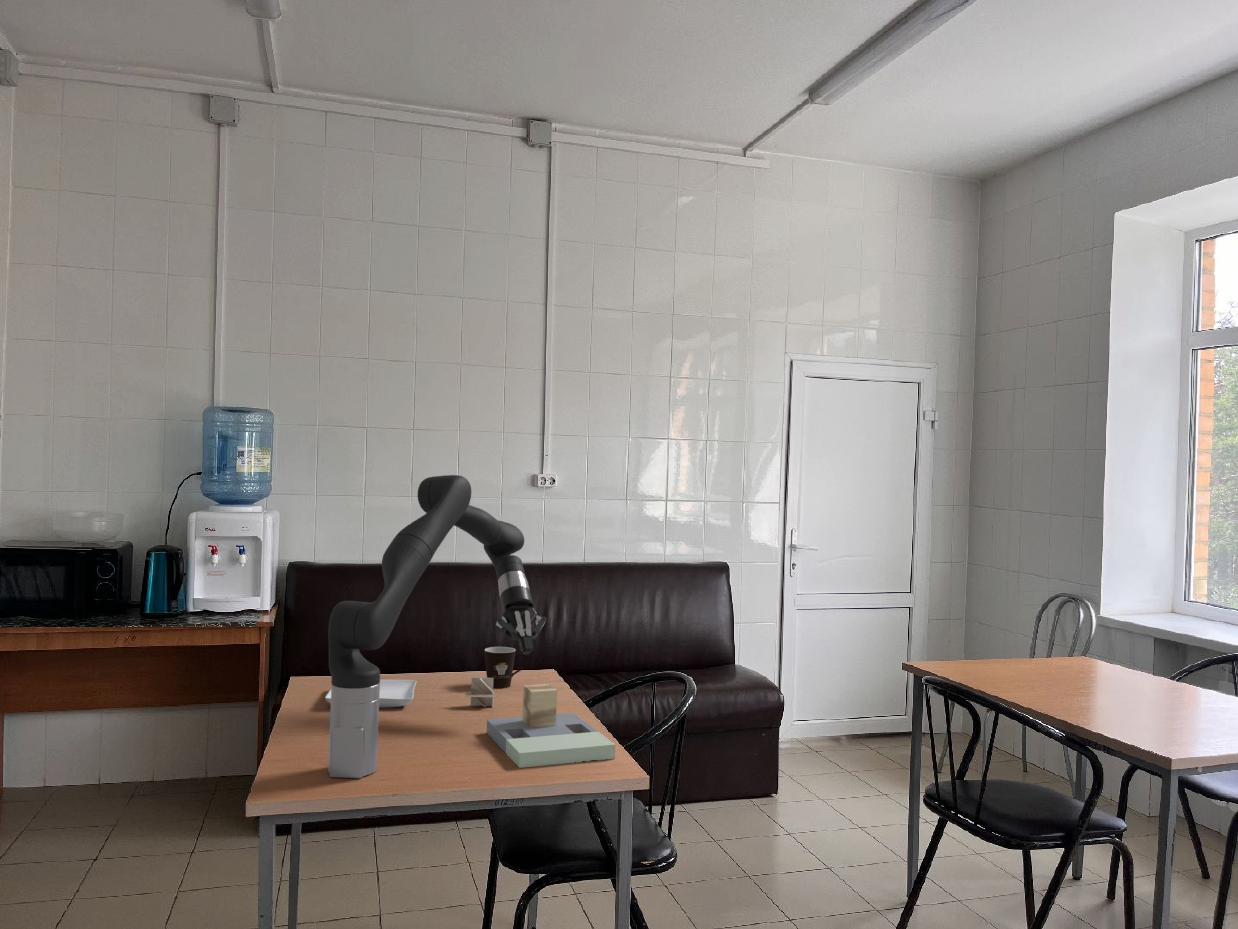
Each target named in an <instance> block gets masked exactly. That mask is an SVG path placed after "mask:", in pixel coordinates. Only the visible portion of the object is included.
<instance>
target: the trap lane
mask: <svg viewBox="0 0 1238 929" xmlns="http://www.w3.org/2000/svg"><path fill="white" fill-rule="evenodd" d="M522 720H523V716H518V717H517V716H516V717H504V718H491V719H486V734H487V735H488V736H489V737H490V738H491V740H493V742H495V743H496V745H498V746H499V748H500V749H501V750H502V751H503V752H504V753H505V754H506V755H507V757H508V758H509V759H511V762H512V761H513V763H514V764H515V765H516V766H517V767H518V768H519V769H523V768H524V769H525V768H531V767H542V766H543V767H544V766H553V765H555V766H556V765H565V764H574V763H575V762H576V763H583V762H582V761H586V762H591V761H590V760H597V761H604V760H606V759H607V760H615V759H616V744H615V743H614V742H613V741H612V740H610V739H609V738H607V737H606V736H605V735H603V734H602V733H601V732H599V730H596V728H594V727H593V726H591V725H590V724H589V723H587V722H586V721H585V720H584V719H582V718H581V717H579V715H577V714H576V713H574V712H573V713H572V712H570V713H569V712H568V713H560V714H559V713H556V726H545V727H533V728H530V727H529V726H528V725H527V724H526V723H525V722H523V721H522Z"/></svg>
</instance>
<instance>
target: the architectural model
mask: <svg viewBox="0 0 1238 929" xmlns="http://www.w3.org/2000/svg"><path fill="white" fill-rule="evenodd" d="M470 684H471V686H470V687H471V688H470V691H469V692H467V691H466V693H465V694H464V697H465V698H470V706H471V707H473V706H474V707H475V706H477V707H479V706H481V707H484V708H487V707H491V708H492V709H493V708H494V699H495V698H494V697H495V696H494V694H495V693H494V692H495V691H494V688H493V678H487V677H471V683H470Z"/></svg>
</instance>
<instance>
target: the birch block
mask: <svg viewBox="0 0 1238 929" xmlns="http://www.w3.org/2000/svg"><path fill="white" fill-rule="evenodd" d="M522 695H523V698H522V700H523V701H522V717H523V720H522V721H523V722H525V723H526V724H527V725H528V726H529V727H530V728H533V727H545V726H556V714H557V708H558V707H557V705H558V702H557V701H558V689H556V688H555V687H554V686H552V685H551V684H549V683H546V684H545V683H543V684H531V685H523V694H522Z"/></svg>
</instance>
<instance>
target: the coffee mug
mask: <svg viewBox="0 0 1238 929" xmlns="http://www.w3.org/2000/svg"><path fill="white" fill-rule="evenodd" d="M516 651H517V650H516V648H514V647H509V646H508V647H507V646H491V647H486V648H485V649H484V660H485V672H486V674H485V675H486V678H493V689H499V690H500V689H507V688H511V684H512V679H513V676H514V675H516V674H518V673H519V672H521V671H523V669H524V668H525V667H527V665H528V663H529V657H528V656H527V654H524V653H518V654H516ZM522 656H523V657H524V658H525V660H526V661H525V663H524V665H523V666H521V667H520V668H519V669H517V670H515V671H514V665H515V662H516V660H517V659H518V658H519V657H522ZM513 671H514V672H513Z"/></svg>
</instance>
